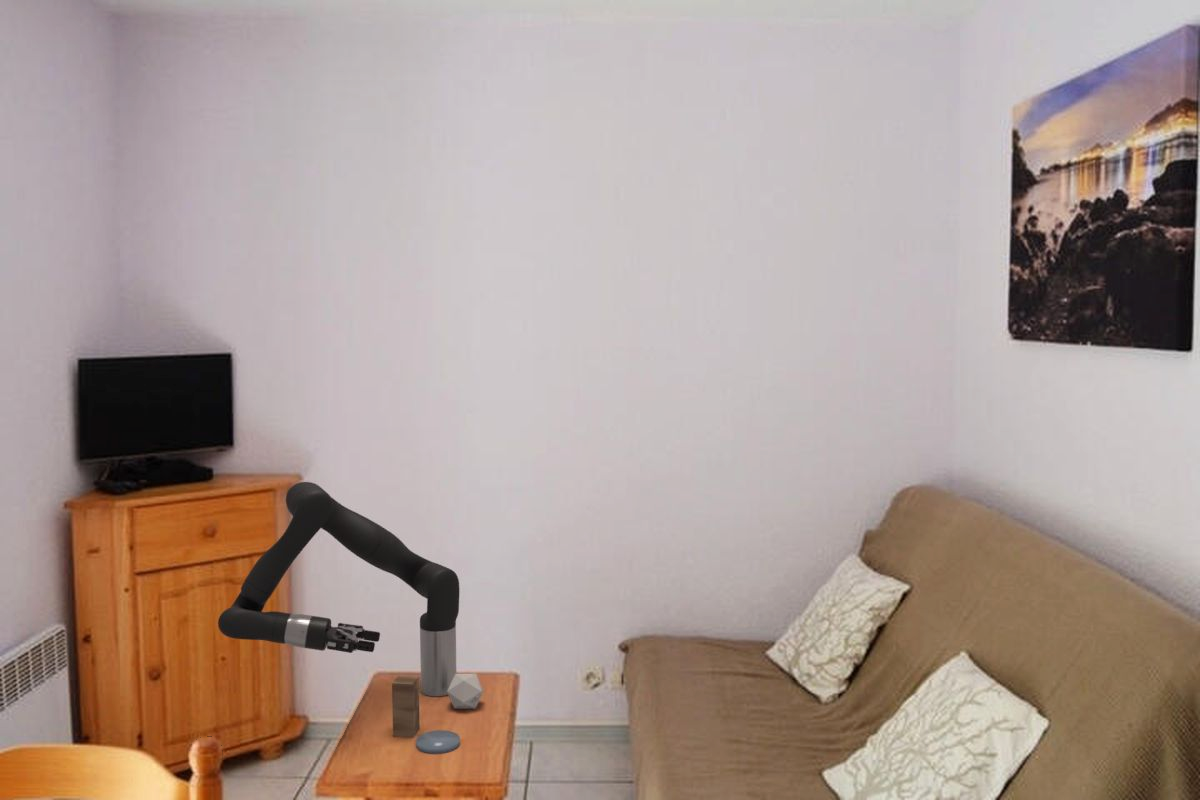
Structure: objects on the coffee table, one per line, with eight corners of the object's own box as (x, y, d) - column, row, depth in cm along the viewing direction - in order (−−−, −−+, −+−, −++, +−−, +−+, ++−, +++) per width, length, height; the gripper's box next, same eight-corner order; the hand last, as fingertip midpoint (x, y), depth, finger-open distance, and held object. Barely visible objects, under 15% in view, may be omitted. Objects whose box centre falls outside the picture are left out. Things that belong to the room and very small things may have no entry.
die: (467, 719, 268) (489, 683, 271) (437, 699, 269) (459, 663, 272) (471, 718, 277) (492, 683, 279) (441, 698, 278) (463, 664, 280)
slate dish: (415, 737, 256) (415, 732, 256) (458, 733, 258) (458, 728, 258) (417, 755, 247) (416, 750, 247) (461, 751, 249) (461, 746, 249)
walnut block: (399, 727, 262) (398, 675, 260) (419, 728, 261) (418, 676, 260) (393, 736, 257) (392, 683, 255) (413, 737, 256) (412, 684, 255)
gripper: (304, 624, 248) (375, 634, 249) (316, 608, 262) (383, 618, 264) (298, 656, 249) (370, 666, 250) (311, 638, 263) (378, 649, 264)
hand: (376, 642), depth 257 cm, fingers open, 8 cm apart
